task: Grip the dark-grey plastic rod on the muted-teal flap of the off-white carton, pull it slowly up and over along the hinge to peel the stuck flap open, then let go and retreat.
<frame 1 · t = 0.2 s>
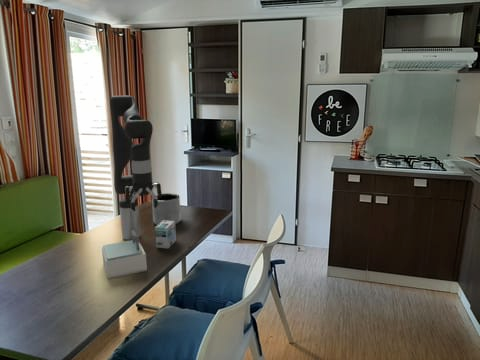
hand: (144, 209, 149), 28 cm above the table, fingers open, 8 cm apart
light bulb box: (166, 244, 184), on the table
planter: (167, 222, 215), on the table
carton: (124, 266, 160), on the table
flap: (121, 243, 157), point 11 cm above the table, hinge at 0.0°
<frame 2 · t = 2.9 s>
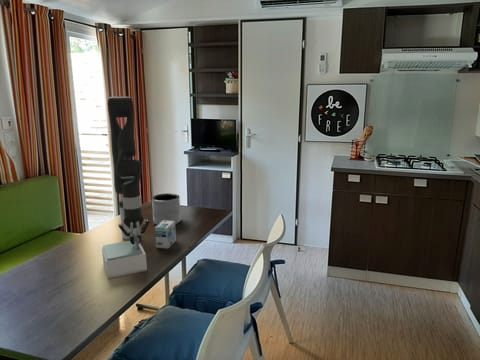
hand: (135, 243, 160), 10 cm above the table, fingers closed on flap, 2 cm apart
flap: (121, 243, 157), point 11 cm above the table, hinge at -0.1°, touching gripper
everything else where it was.
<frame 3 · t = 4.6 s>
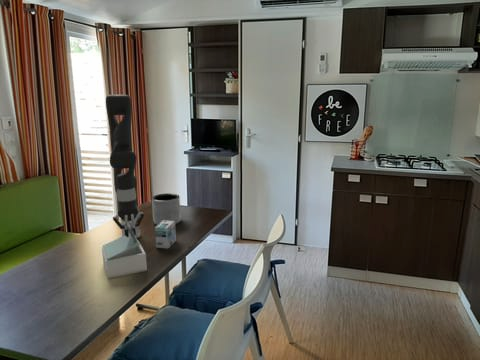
hand: (130, 236, 158), 14 cm above the table, fingers closed on flap, 2 cm apart
flap: (118, 239, 156), point 13 cm above the table, hinge at 16.5°, touching gripper
everything else where it was.
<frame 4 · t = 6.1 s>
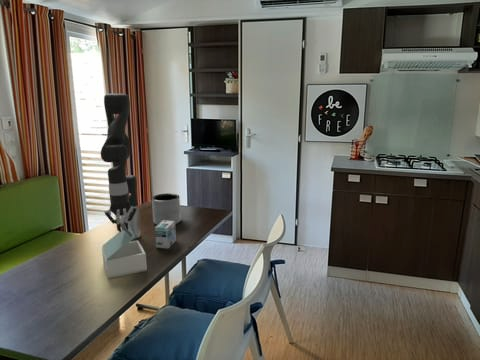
hand: (122, 230, 156), 17 cm above the table, fingers closed on flap, 2 cm apart
flap: (114, 237, 155), point 15 cm above the table, hinge at 33.3°, touching gripper
everything else where it was.
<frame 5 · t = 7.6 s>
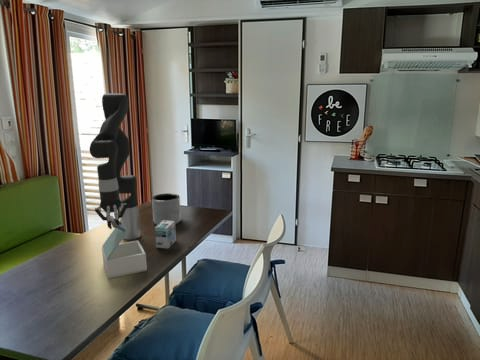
hand: (113, 227, 154), 19 cm above the table, fingers closed on flap, 2 cm apart
flap: (109, 235, 154), point 16 cm above the table, hinge at 50.2°, touching gripper
everything else where it was.
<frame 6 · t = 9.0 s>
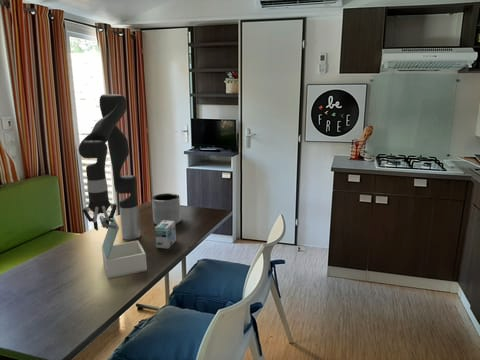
hand: (102, 228, 152), 19 cm above the table, fingers open, 3 cm apart
flap: (103, 235, 153), point 16 cm above the table, hinge at 66.7°
everything else where it was.
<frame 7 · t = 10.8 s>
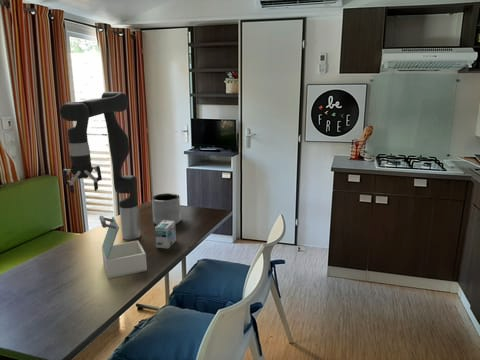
hand: (84, 192, 150), 35 cm above the table, fingers open, 8 cm apart
nothing on the table moved.
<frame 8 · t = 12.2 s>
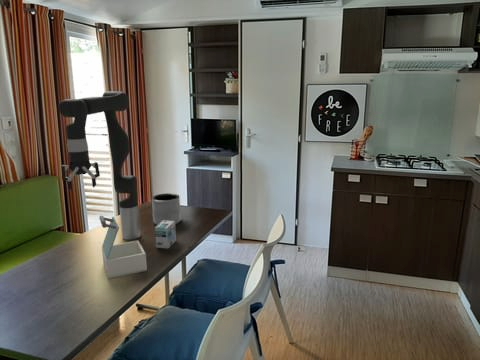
hand: (82, 188, 151), 36 cm above the table, fingers open, 8 cm apart
nothing on the table moved.
at the end: flap at +67° (first picture: +0°); the gripper is holding nothing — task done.
